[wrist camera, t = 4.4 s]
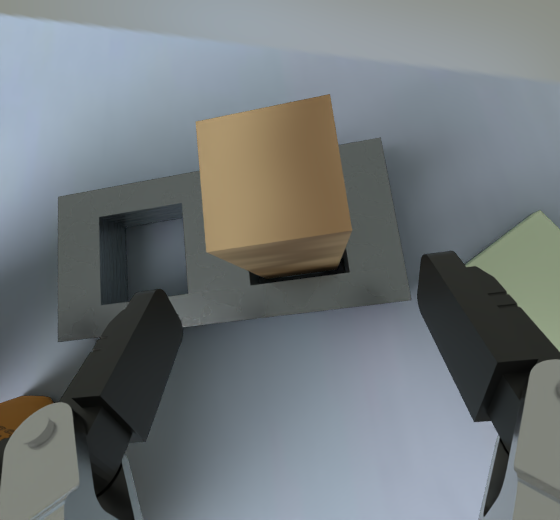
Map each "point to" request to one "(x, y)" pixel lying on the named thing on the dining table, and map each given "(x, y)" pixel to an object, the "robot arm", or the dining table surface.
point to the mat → (529, 270)
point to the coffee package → (19, 412)
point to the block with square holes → (212, 270)
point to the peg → (274, 189)
